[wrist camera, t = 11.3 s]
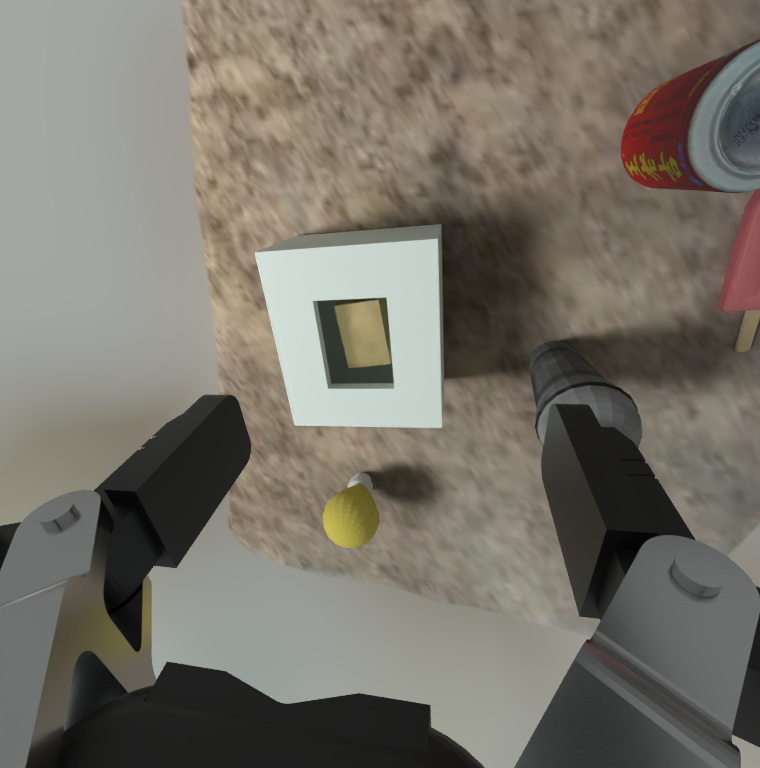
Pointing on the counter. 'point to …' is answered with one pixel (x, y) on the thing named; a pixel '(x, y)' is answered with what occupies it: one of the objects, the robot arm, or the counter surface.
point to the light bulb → (352, 514)
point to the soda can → (700, 128)
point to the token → (364, 331)
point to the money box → (322, 335)
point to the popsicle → (745, 275)
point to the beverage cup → (579, 390)
